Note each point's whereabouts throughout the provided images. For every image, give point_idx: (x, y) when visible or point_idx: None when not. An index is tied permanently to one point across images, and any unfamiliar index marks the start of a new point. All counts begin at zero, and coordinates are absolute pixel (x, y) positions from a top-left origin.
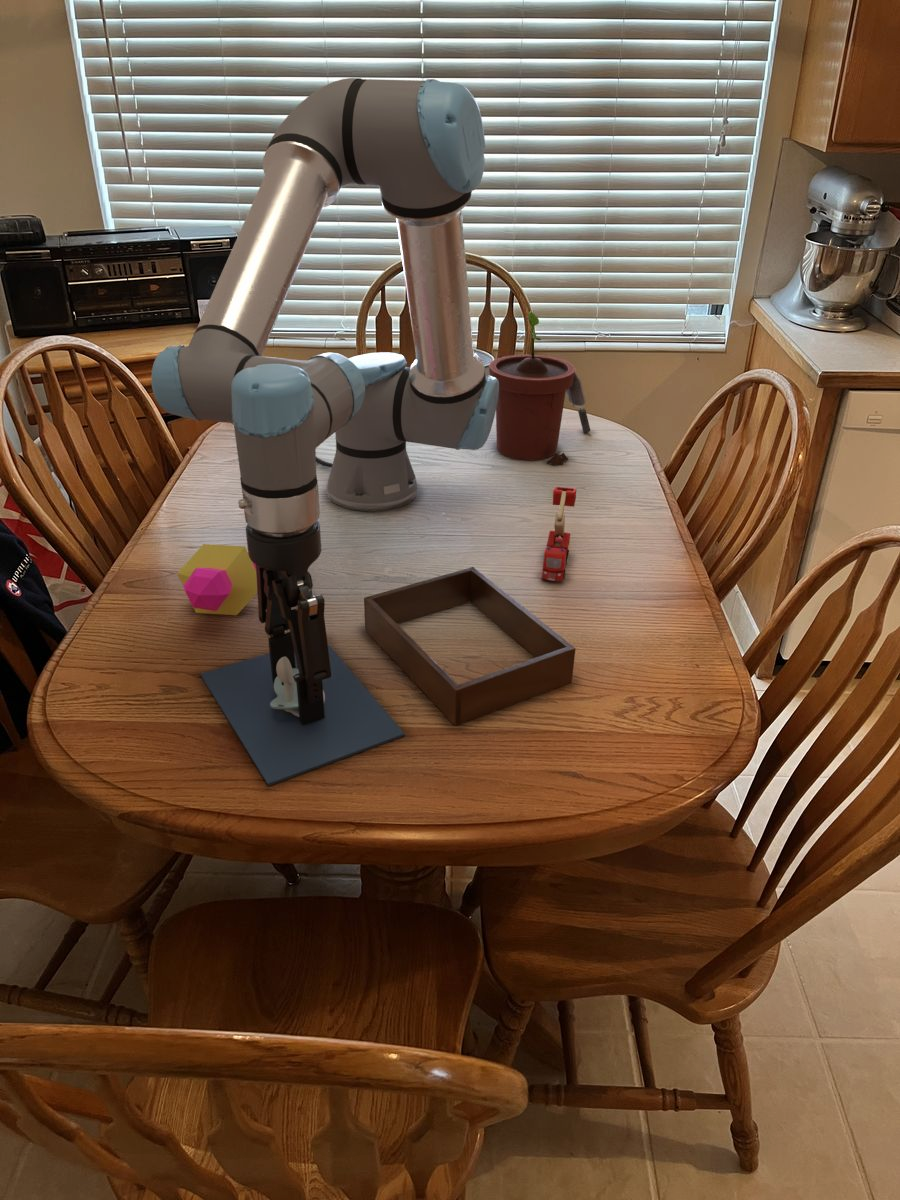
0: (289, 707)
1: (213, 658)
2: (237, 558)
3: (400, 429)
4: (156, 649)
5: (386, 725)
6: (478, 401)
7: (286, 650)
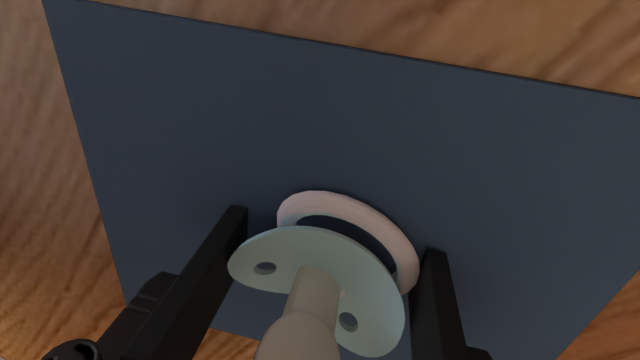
0: (393, 348)
1: (76, 258)
2: None
3: None
4: (23, 299)
5: None
6: None
7: (191, 321)
